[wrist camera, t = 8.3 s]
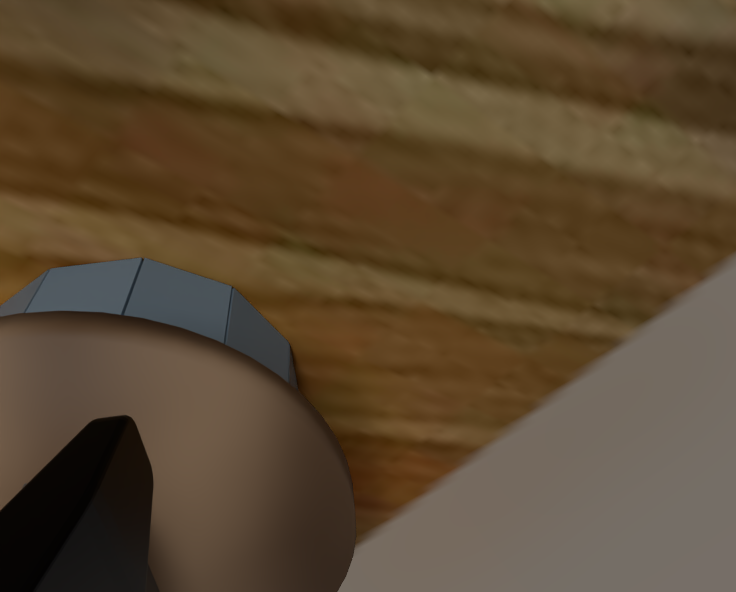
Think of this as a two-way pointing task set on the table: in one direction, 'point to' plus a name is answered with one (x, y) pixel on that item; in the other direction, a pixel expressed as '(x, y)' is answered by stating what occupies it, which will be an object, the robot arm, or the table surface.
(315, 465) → the walnut lid
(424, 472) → the table surface
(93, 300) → the blue bowl
